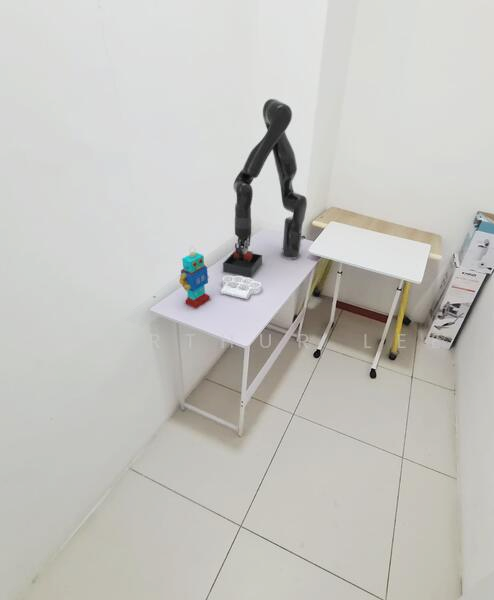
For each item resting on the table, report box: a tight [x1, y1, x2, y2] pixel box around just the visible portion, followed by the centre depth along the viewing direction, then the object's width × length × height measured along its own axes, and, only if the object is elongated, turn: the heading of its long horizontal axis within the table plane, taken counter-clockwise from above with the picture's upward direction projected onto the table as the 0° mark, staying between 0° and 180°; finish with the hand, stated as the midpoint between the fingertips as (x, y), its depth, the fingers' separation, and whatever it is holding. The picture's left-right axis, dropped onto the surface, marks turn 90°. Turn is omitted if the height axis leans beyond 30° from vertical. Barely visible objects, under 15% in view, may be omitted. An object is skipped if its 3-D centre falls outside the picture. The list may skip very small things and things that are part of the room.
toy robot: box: [178, 246, 211, 309], centre depth 132 cm, size 12×6×25 cm, turn 148°
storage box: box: [222, 249, 263, 279], centre depth 163 cm, size 15×14×5 cm
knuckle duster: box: [220, 274, 262, 300], centre depth 148 cm, size 3×18×15 cm
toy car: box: [233, 248, 254, 262], centre depth 160 cm, size 8×4×5 cm, turn 74°
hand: (243, 257), depth 161 cm, fingers closed on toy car, 4 cm apart
